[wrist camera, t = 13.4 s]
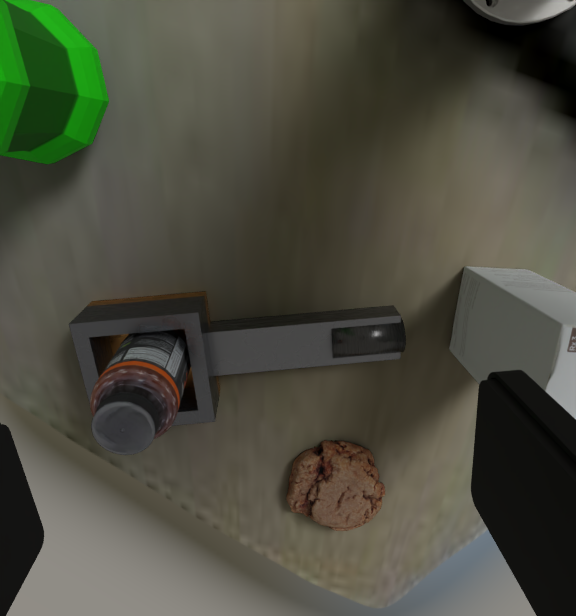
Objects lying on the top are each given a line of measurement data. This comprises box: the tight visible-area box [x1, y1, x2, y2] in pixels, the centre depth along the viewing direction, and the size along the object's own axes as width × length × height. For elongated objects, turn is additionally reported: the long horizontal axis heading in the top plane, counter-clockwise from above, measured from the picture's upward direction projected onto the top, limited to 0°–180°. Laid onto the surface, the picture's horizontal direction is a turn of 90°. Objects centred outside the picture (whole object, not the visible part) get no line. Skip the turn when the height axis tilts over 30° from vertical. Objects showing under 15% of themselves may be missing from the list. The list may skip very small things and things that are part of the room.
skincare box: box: [449, 266, 576, 419], centre depth 35 cm, size 8×6×15 cm
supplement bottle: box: [90, 330, 191, 455], centre depth 35 cm, size 6×6×11 cm
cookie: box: [287, 440, 385, 531], centre depth 46 cm, size 10×11×3 cm
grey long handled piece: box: [69, 291, 406, 426], centre depth 39 cm, size 26×10×5 cm, turn 94°
